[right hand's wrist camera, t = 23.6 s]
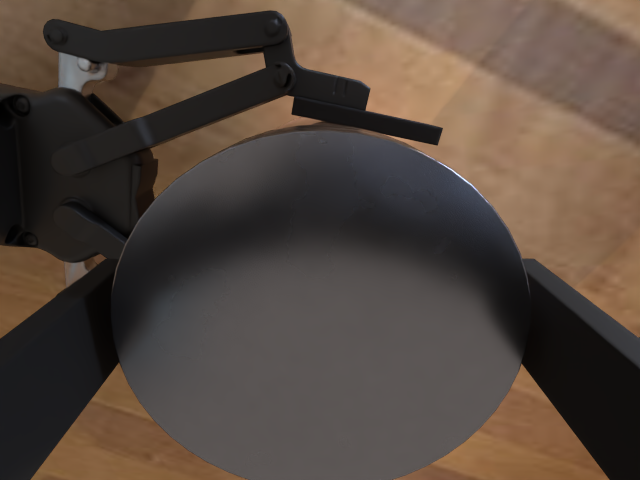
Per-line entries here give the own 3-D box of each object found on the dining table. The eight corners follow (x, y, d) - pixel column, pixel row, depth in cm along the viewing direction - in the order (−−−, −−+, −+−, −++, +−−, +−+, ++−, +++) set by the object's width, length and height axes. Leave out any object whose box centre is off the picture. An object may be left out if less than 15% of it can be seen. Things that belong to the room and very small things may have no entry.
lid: (105, 380, 13) (71, 425, 11) (206, 48, 9) (180, 37, 8) (394, 475, 15) (404, 528, 13) (574, 222, 11) (623, 247, 9)
